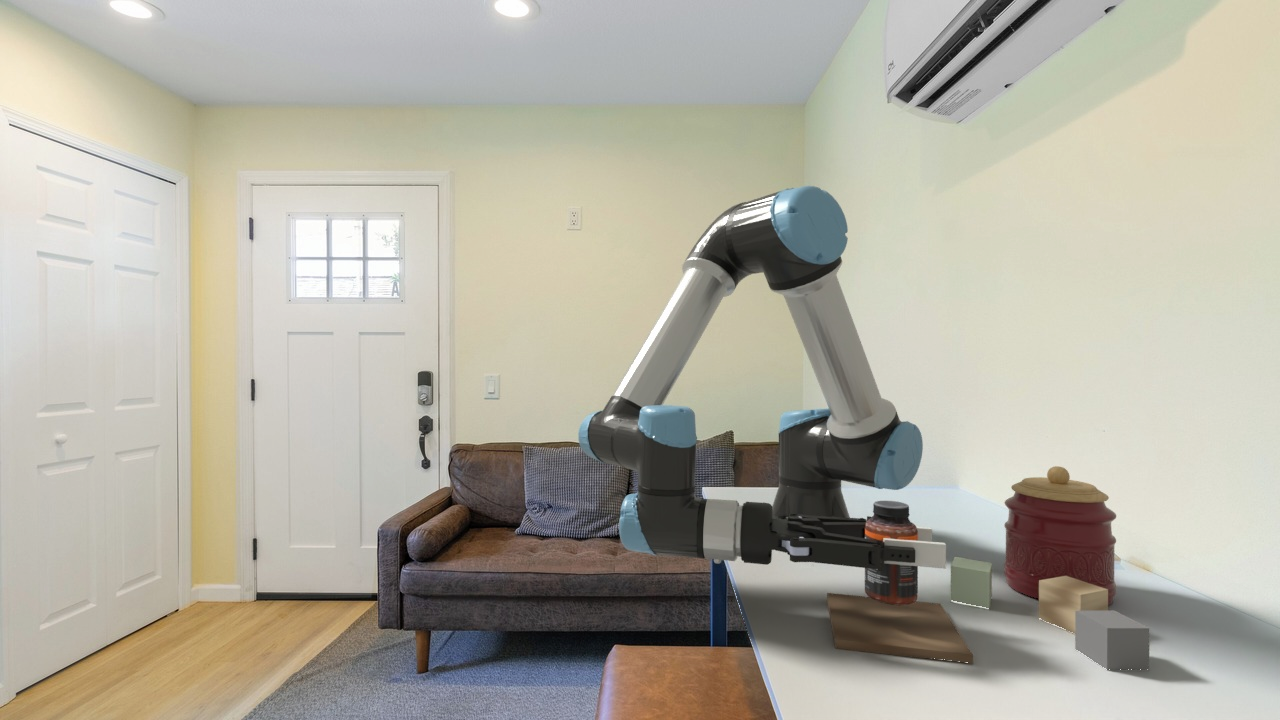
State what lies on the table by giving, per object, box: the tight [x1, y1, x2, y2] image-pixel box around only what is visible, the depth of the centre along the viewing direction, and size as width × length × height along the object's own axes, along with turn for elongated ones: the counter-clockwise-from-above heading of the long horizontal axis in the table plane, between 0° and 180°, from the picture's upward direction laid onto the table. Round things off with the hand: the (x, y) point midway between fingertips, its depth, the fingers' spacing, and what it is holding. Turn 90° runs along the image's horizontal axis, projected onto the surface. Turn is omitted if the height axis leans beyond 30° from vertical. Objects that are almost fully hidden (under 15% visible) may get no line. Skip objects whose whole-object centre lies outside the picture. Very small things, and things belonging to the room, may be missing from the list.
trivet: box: [826, 592, 974, 664], centre depth 72 cm, size 14×14×1 cm
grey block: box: [1074, 610, 1150, 671], centre depth 65 cm, size 4×4×4 cm
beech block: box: [1038, 576, 1109, 634], centre depth 74 cm, size 5×5×5 cm
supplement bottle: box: [864, 500, 919, 606], centre depth 72 cm, size 6×6×11 cm
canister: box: [1003, 466, 1117, 606], centre depth 85 cm, size 13×13×18 cm
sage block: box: [950, 556, 993, 608], centre depth 81 cm, size 4×4×5 cm
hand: (937, 547), depth 71 cm, fingers closed on supplement bottle, 6 cm apart
